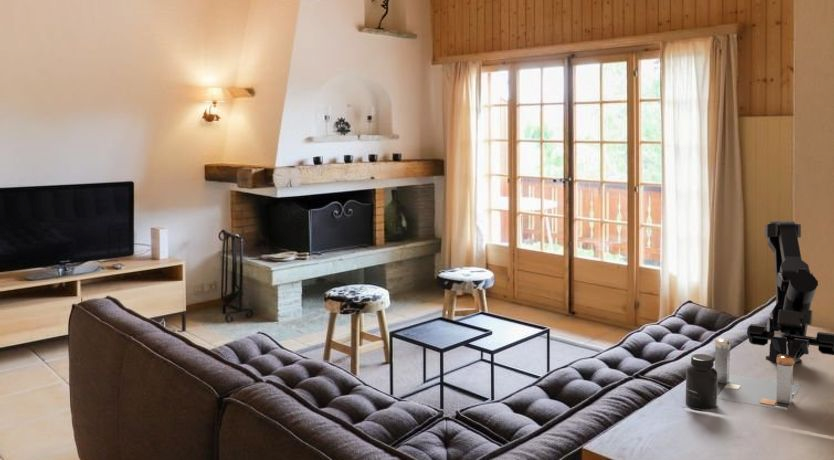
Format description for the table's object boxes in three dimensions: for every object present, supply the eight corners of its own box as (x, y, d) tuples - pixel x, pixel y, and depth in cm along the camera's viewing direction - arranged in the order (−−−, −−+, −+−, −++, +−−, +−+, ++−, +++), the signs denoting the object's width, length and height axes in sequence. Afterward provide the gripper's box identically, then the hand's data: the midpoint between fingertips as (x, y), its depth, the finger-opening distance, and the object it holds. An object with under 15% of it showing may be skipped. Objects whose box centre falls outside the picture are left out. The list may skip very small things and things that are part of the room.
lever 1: (716, 377, 180) (717, 337, 178) (731, 380, 177) (732, 339, 176) (712, 382, 177) (713, 341, 175) (727, 384, 175) (728, 343, 173)
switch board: (722, 375, 184) (722, 372, 183) (800, 387, 173) (800, 384, 173) (703, 397, 169) (703, 394, 169) (787, 413, 159) (787, 409, 159)
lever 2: (776, 396, 166) (778, 353, 164) (794, 399, 164) (795, 355, 162) (774, 401, 163) (775, 357, 161) (791, 404, 161) (793, 360, 159)
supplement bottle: (683, 409, 163) (684, 359, 161) (687, 399, 169) (688, 350, 167) (715, 414, 160) (716, 363, 158) (718, 403, 166) (719, 354, 164)
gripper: (749, 291, 171) (738, 348, 164) (838, 300, 160) (830, 360, 153) (755, 315, 178) (744, 370, 171) (841, 325, 167) (833, 384, 160)
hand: (786, 370), depth 164 cm, fingers closed
